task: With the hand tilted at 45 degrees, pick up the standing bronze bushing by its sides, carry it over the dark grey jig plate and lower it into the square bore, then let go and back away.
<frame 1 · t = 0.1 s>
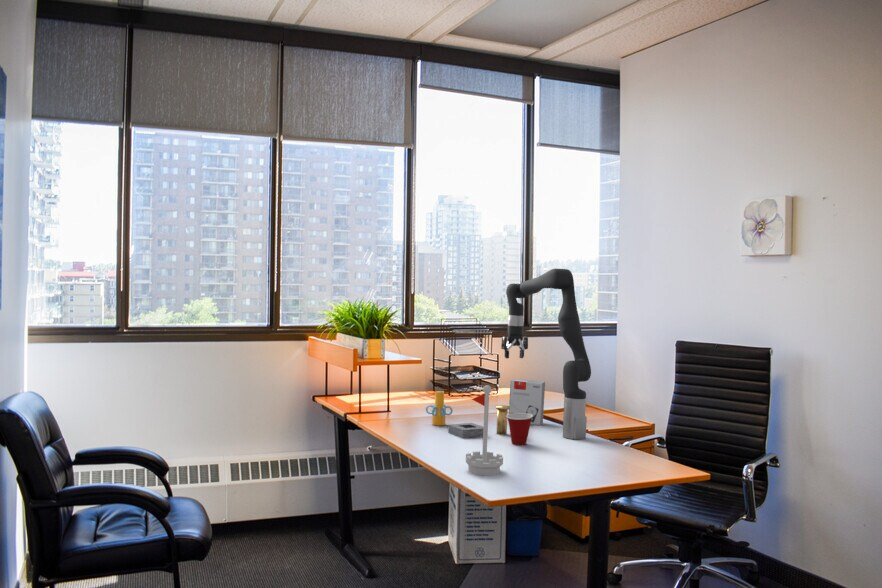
hand: (514, 358, 357), 29 cm above the table, tool pointing down, fingers open, 8 cm apart
bushing: (501, 433, 320), on the table
flag stand: (483, 471, 257), on the table
tube with loops: (438, 424, 335), on the table
plastic cup: (518, 444, 301), on the table
hard drive box: (525, 423, 348), on the table
jig: (467, 434, 316), on the table
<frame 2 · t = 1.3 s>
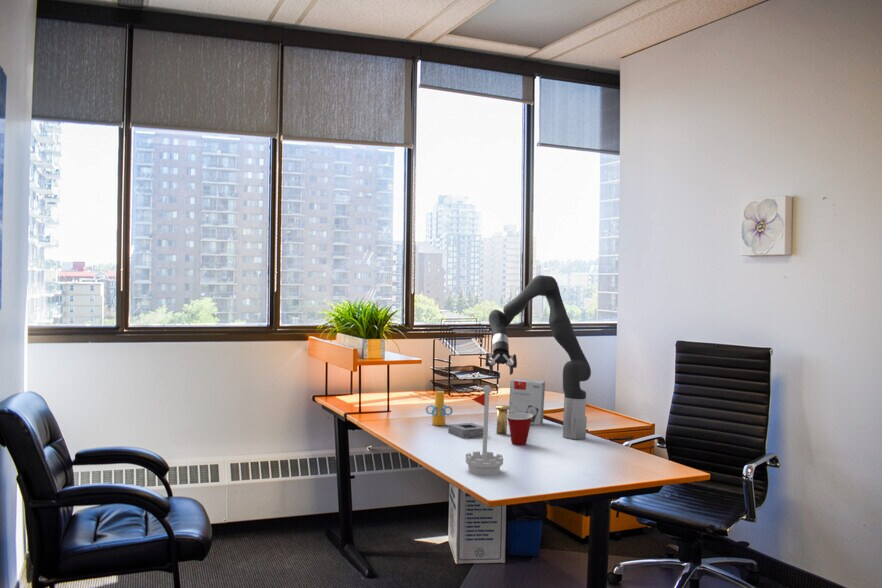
hand: (501, 373, 332), 25 cm above the table, tool tilted 45°, fingers open, 8 cm apart
nothing on the table moved.
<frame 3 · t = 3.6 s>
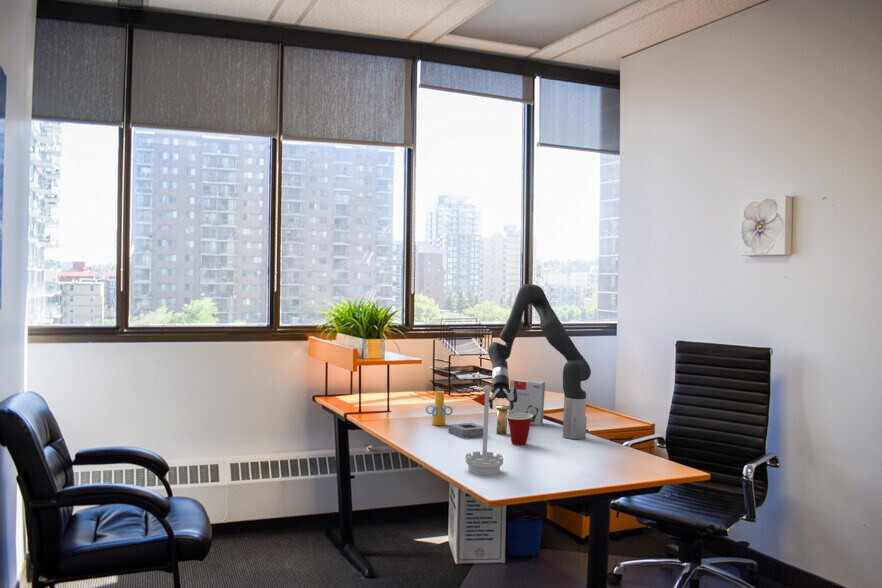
hand: (501, 408, 324), 10 cm above the table, tool tilted 45°, fingers open, 8 cm apart
nothing on the table moved.
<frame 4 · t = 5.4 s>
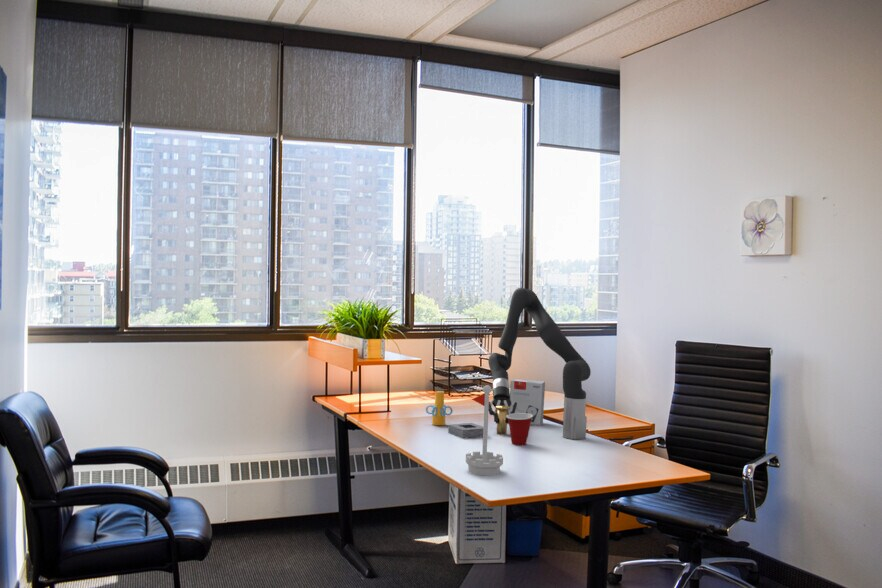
hand: (502, 422, 318), 5 cm above the table, tool tilted 45°, fingers closed on bushing, 4 cm apart
bushing: (501, 433, 320), on the table, touching gripper
everything else where it was.
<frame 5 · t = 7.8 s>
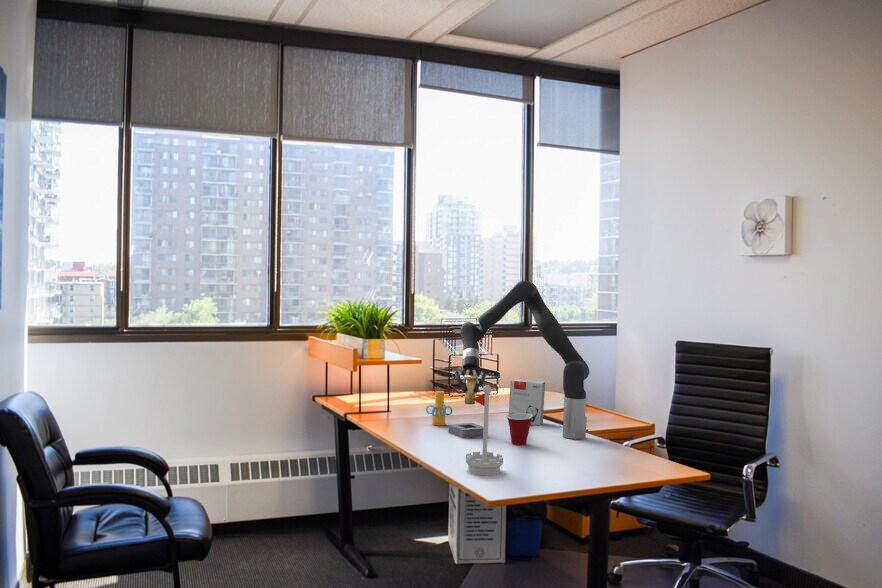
hand: (470, 392, 315), 18 cm above the table, tool tilted 45°, fingers closed on bushing, 4 cm apart
bushing: (469, 403, 317), point 13 cm above the table, touching gripper
everything else where it was.
when the fingers open (7 cm above the table, at t = 10.4 s): bushing drops 2 cm, resting in jig.
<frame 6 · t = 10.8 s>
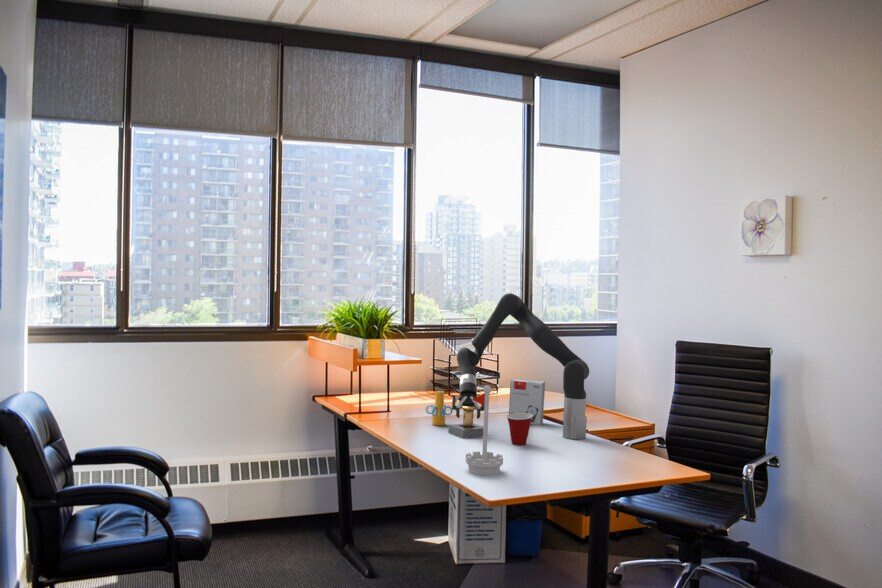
hand: (468, 417, 315), 8 cm above the table, tool tilted 45°, fingers open, 8 cm apart
bushing: (467, 434, 316), resting in jig
everything else where it was.
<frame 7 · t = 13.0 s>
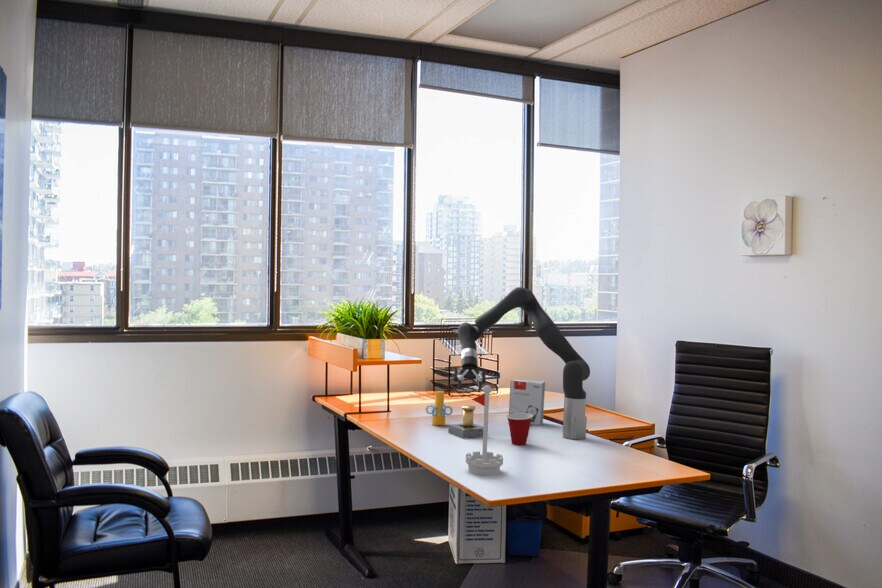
hand: (469, 389, 326), 18 cm above the table, tool tilted 45°, fingers open, 8 cm apart
nothing on the table moved.
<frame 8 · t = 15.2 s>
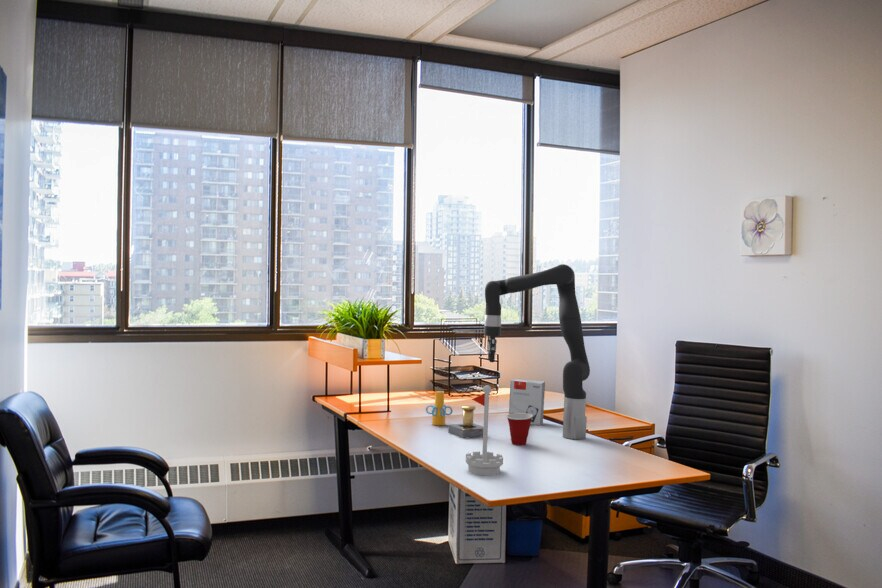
hand: (491, 361, 332), 30 cm above the table, tool pointing down, fingers open, 8 cm apart
nothing on the table moved.
at the end: bushing 0.1 cm off-centre on the jig, point 0.0 cm above the jig's base; bushing tilted 0°; the gripper is holding nothing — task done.
